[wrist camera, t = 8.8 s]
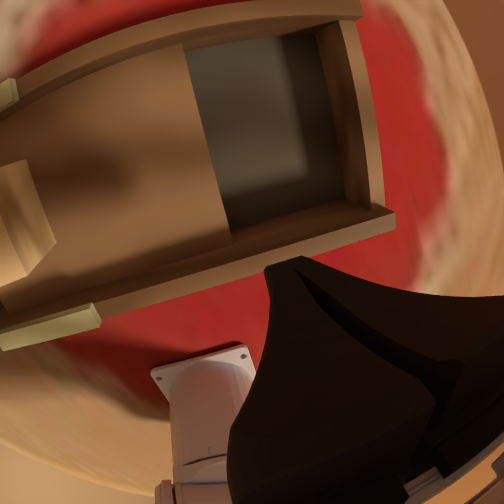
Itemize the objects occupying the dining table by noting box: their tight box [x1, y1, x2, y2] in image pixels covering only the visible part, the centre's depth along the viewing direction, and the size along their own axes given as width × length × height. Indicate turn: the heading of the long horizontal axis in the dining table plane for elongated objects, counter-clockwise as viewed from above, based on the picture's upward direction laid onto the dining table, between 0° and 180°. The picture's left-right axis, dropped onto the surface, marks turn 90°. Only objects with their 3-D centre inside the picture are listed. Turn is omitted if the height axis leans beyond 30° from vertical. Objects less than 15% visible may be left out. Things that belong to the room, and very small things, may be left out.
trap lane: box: [0, 0, 396, 351], centre depth 13 cm, size 13×34×5 cm, turn 103°
